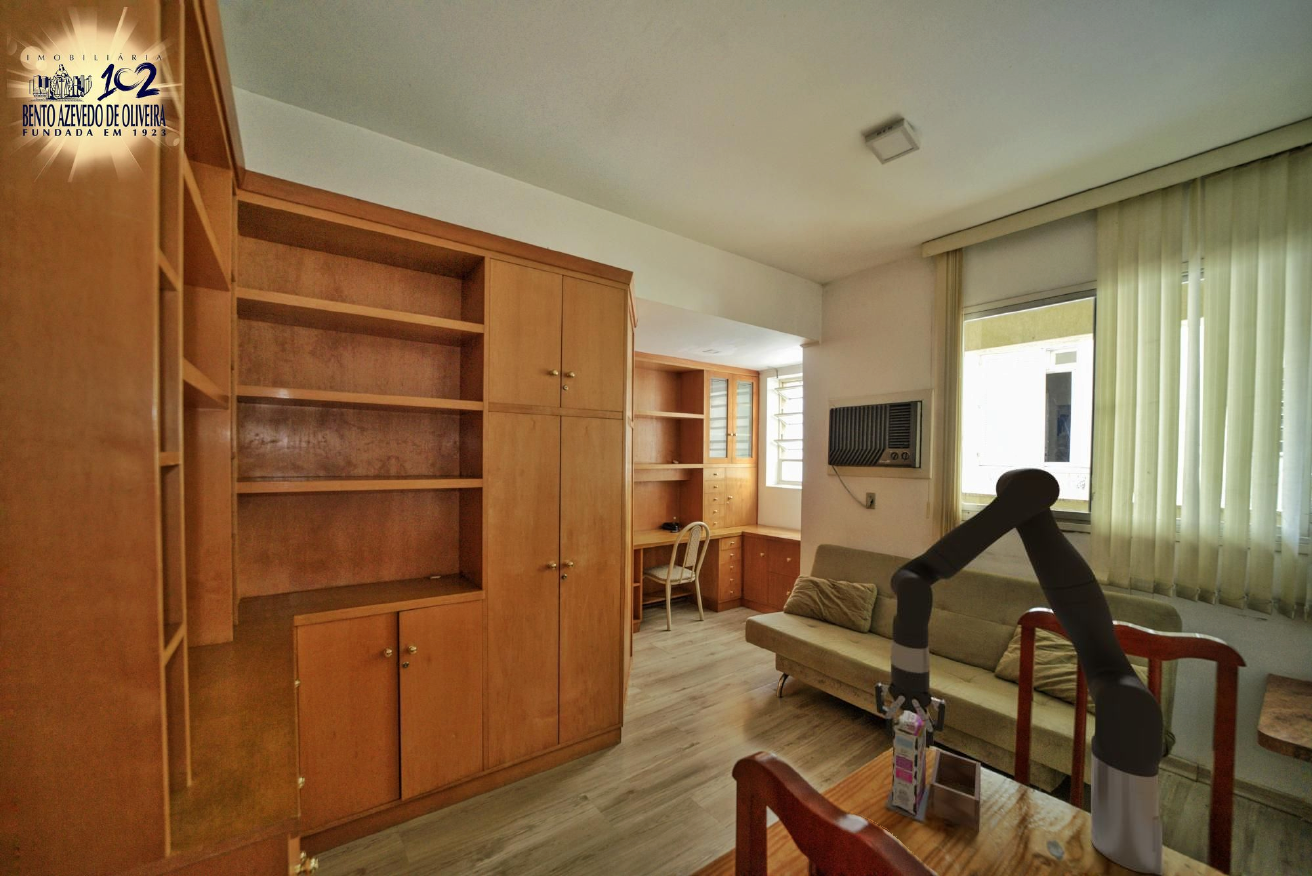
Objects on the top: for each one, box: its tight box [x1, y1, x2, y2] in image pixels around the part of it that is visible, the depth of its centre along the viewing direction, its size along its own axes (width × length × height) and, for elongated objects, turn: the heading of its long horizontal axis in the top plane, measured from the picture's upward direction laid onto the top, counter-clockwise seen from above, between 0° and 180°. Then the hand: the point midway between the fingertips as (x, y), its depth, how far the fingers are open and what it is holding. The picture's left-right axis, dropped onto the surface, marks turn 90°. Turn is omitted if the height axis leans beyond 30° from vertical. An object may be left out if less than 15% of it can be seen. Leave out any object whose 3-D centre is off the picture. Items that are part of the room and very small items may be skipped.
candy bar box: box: [891, 710, 927, 815], centre depth 105 cm, size 11×5×16 cm, turn 142°
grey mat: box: [885, 786, 930, 824], centre depth 105 cm, size 7×12×1 cm, turn 145°
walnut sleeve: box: [929, 748, 982, 832], centre depth 105 cm, size 9×15×6 cm, turn 145°
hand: (909, 740), depth 106 cm, fingers open, 6 cm apart
